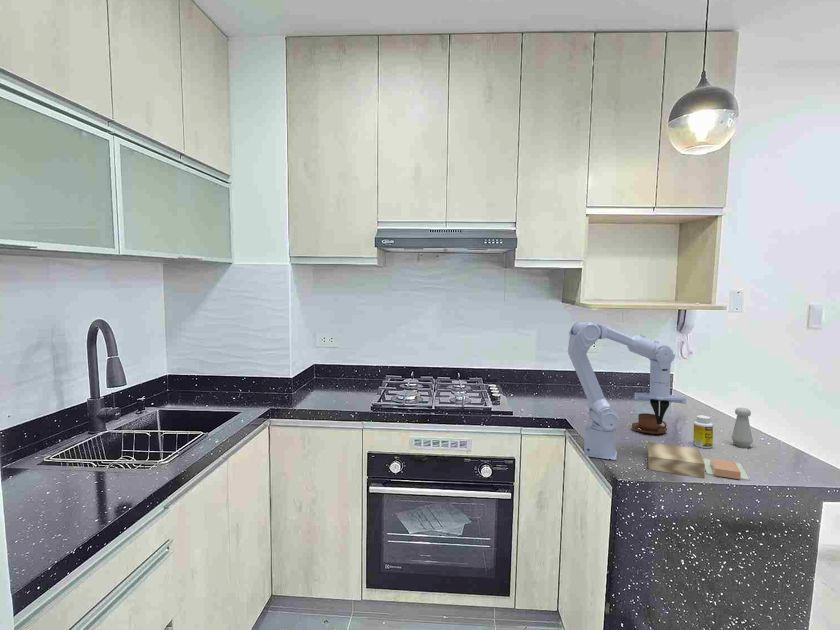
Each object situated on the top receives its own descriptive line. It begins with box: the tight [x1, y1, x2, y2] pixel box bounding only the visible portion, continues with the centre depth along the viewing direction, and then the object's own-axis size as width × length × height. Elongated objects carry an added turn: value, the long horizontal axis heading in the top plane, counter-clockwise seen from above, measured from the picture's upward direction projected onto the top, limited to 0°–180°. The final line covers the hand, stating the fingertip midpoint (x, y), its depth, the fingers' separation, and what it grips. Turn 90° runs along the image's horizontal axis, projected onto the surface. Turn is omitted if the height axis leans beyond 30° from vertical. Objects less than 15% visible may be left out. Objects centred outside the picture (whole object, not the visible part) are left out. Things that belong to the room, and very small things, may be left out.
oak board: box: [647, 441, 706, 479], centre depth 133 cm, size 14×14×4 cm
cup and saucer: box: [631, 412, 668, 435], centre depth 167 cm, size 12×12×6 cm
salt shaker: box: [731, 407, 754, 449], centre depth 150 cm, size 6×6×13 cm
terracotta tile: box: [710, 457, 742, 480], centre depth 127 cm, size 6×9×2 cm, turn 153°
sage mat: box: [703, 458, 750, 481], centre depth 130 cm, size 10×13×1 cm
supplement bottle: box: [692, 414, 714, 449], centre depth 150 cm, size 6×6×10 cm
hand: (659, 423), depth 141 cm, fingers closed
